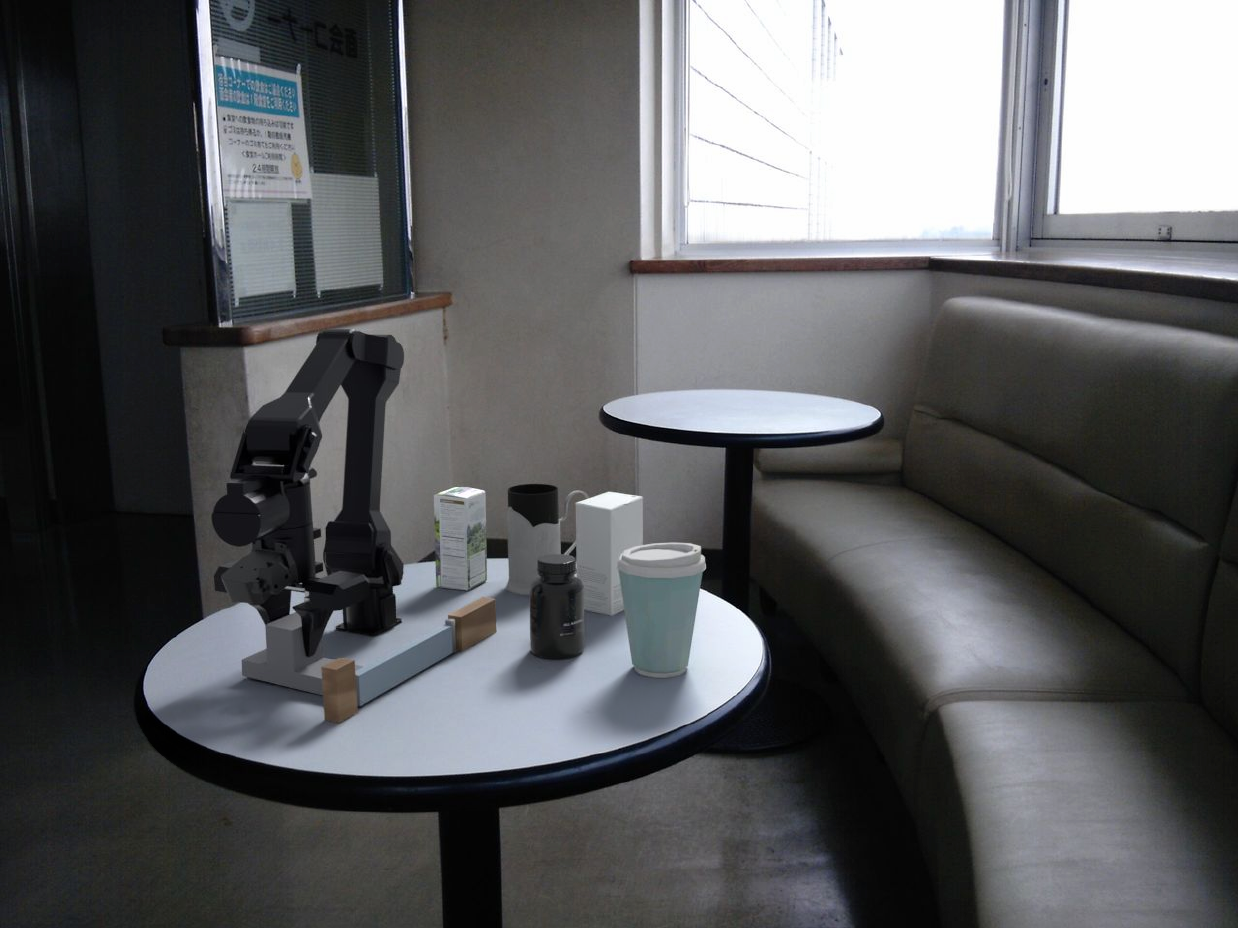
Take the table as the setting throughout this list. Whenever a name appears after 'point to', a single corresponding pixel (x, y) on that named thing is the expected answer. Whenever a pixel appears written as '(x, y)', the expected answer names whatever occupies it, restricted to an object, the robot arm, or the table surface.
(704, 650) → the table surface
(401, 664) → the door leaf
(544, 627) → the supplement bottle
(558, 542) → the glass holder
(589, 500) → the skincare box
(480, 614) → the wooden blocks
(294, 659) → the gray t-shaped pedestal
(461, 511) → the syrup box
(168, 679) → the table surface
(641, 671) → the disposable coffee cup
